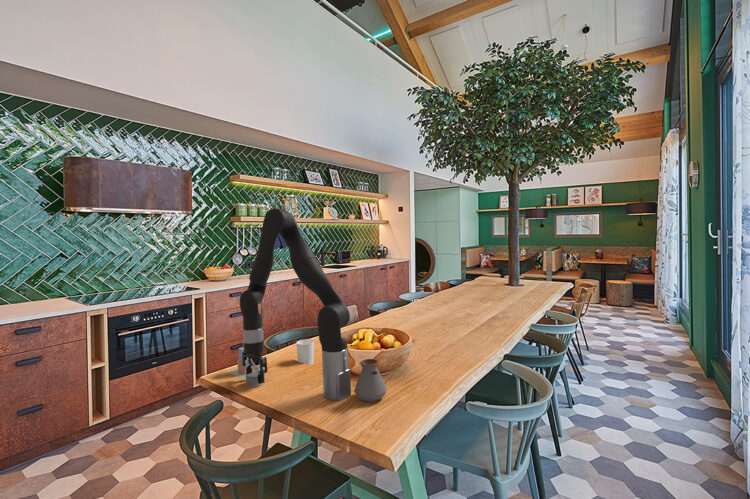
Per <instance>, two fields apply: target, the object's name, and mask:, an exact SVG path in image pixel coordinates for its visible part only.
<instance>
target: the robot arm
mask: <svg viewBox="0 0 750 499" xmlns="http://www.w3.org/2000/svg"><path fill="white" fill-rule="evenodd" d="M279 235H280V237H281V238H282V240H284V243H285V244H286V246H287V248H288V252H289V258H290V260H289V261H290V264H291V267H292V270H294V273H295V274H296V276H297V278H298V279H299V282H300V283H302V284H303V285H304V286H305V287H306V288H307V289H309V290H310V291H311V292H312V293H313V294H315V295H316V296H317V297H318V299H319V301H321V303H322V304H323V307H321V309H319V310H318V314H317V330H318V331H317V333H318V340H319V343H320V345H321V362H322V363H321V364H322V365H321V366H322V367H321V368H322V389H323V398H325V399H326V400H329V401H338V402H340V401H343V400H344V399H346V398H348V397H350V396H351V395H352V383H351V381H352V379H351V369H350V368H349V361H348V360H349V359H348V358H349V356H348V341H347V339H346V338H344V337H342V332H341V328H343V327H346V326H347V325H348V324H349V323H350V320H351V319H350V318H351V313H350V310H349V308H348V306H347V305H346V304H345V302H344V301H343V299H342V298H341V297H340V295H339V294H338V292H337V291H336V290H335V288H334V286H333V285H332V283H331V281H330V280H329V278H328V277H327V275H326V274H325V272H324V270H323V268H322V266H321V264H320V263H319V261H318V259H317V258H316V256H315V254H314V253H313V251H312V250H311V247H310V245H309V244H308V242H306V240H305V238H304V236H303V234H302V232H301V229H300V228H299V225H298V222H297V221H296V219H295V217H294V215H293V214H292V213H291V212H289V211H288V210H285V209H281V208H277V207H273V208H270V209H269V210H267V212H266V213H265V215H264V218H263V221H262V228H261V233H260V238H259V243H258V248H257V253H256V255H255V259H254V262H253V265H252V266H251V270H250V274H249V277H248V280H249V284H248V287H247V289H246V290H244V291H243V292H242V293H241V294H240V296H239V308H240V311H241V315H242V328H243V331H242V341H243V345H242V347H243V348H244V352H242V365H243V366H245V369H246V375H247V374H250V373H252V368H251V367H252V366H254V369H255V370H257V373H258V383H259V385H262V384H264V379H265V374H266V373H268V370H267V369H268V362H267V356H262V353H263V352H264V350H265V346H264V345H265V344H264V342H265V341H264V330H263V317H262V314H261V313H260V309H259V305H260V303H261V302H262V301H263V299H264V296H265V293H266V288H267V283H268V280H269V277H270V276H271V271H272V270H273V266H274V249H275V248H274V246H275V243H276V240H277V238H278V236H279ZM245 360H246V363H245ZM259 368H260V370H259ZM264 368H265V370H264ZM261 383H262V384H261Z"/></svg>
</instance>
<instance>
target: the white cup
mask: <svg viewBox="0 0 750 499" xmlns="http://www.w3.org/2000/svg"><path fill="white" fill-rule="evenodd" d="M295 344H296V354H297V359H298V363H299V364H300V363H302V364H305V365H308V366H311V365H313V364H314V356H315V340H313V339H309V338H308V339H307V338H306V339H299V340H297V341H296V343H295Z"/></svg>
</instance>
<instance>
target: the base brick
mask: <svg viewBox="0 0 750 499" xmlns="http://www.w3.org/2000/svg"><path fill="white" fill-rule="evenodd" d="M236 361H237V362H236V363H237V369H238V372H240V373H242V374H245V375H246V369H245V366H243V365H242V361H241V360H239V359H237V360H236ZM245 363H246V362H245ZM251 368H252V372H255V371H257V370H255V369H254V366H252V367H251Z"/></svg>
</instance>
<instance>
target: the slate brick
mask: <svg viewBox="0 0 750 499" xmlns="http://www.w3.org/2000/svg"><path fill="white" fill-rule="evenodd" d="M245 382H246V385H248V386H251V387H252V388H253V387H256V386H259V385H262V384H264V383H265V382H266V381H265V378H264V383H261V384H259V383H258V373H257V371H256V372H253V373H250V374H247V375H246V378H245Z"/></svg>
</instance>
